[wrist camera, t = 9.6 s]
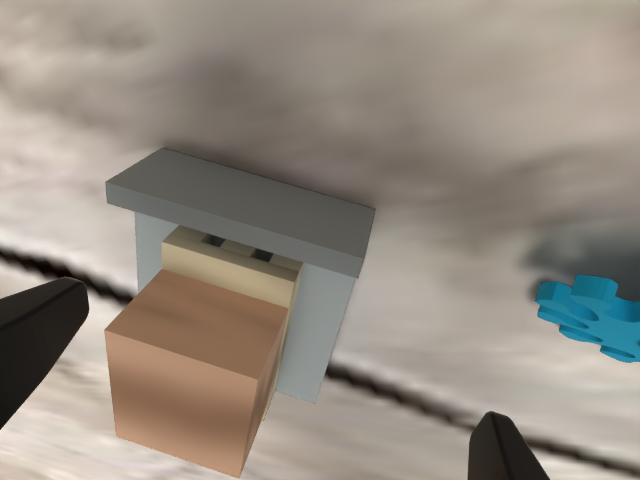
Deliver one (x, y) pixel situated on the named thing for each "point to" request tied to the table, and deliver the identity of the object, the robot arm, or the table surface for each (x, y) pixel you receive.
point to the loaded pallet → (202, 350)
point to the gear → (593, 315)
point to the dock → (255, 242)
